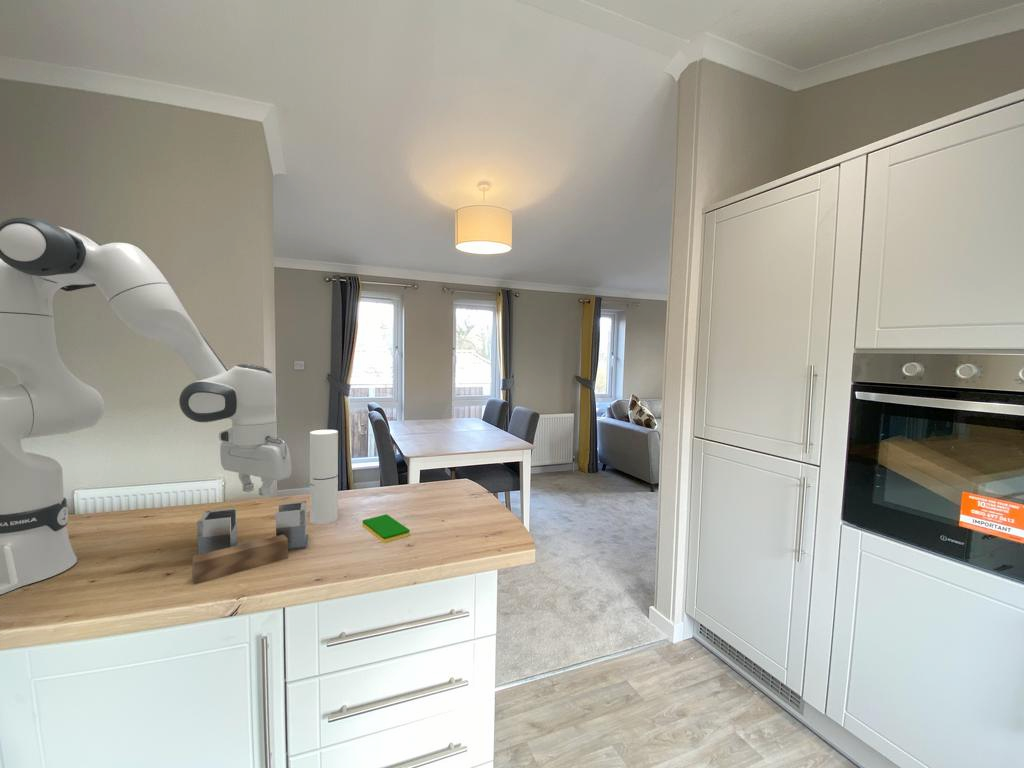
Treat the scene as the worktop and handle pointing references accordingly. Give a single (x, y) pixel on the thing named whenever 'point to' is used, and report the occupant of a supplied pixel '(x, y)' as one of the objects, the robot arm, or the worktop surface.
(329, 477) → the cylindrical container
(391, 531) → the dish sponge
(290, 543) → the bracket stand
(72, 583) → the worktop surface
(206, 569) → the rail
